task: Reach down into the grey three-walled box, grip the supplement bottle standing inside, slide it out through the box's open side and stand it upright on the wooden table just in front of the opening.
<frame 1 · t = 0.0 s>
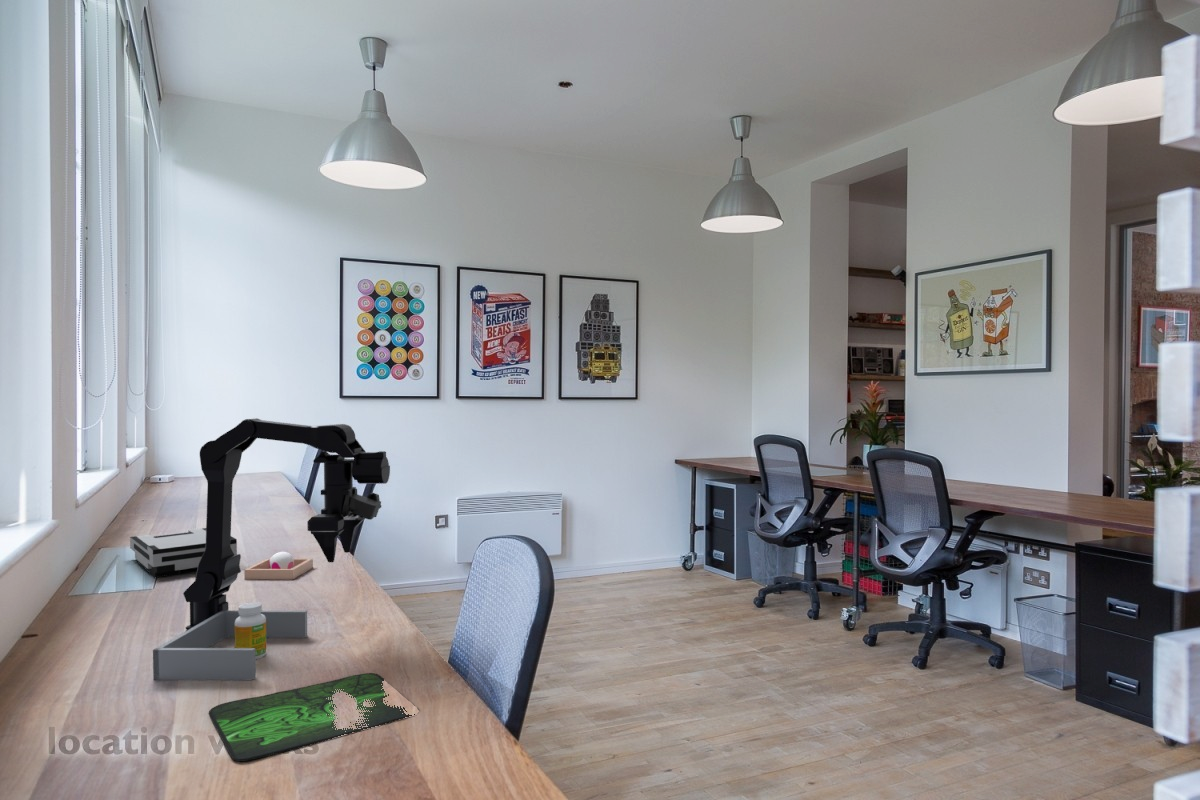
hand: (339, 557, 160), 15 cm above the table, fingers open, 9 cm apart
game console: (182, 564, 218), on the table
ball dish: (279, 573, 206), on the table
open side box: (250, 656, 142), on the table
mouse mat: (315, 715, 118), on the table
supplement bottle: (250, 657, 142), on the table
stress ball: (279, 574, 206), resting in ball dish
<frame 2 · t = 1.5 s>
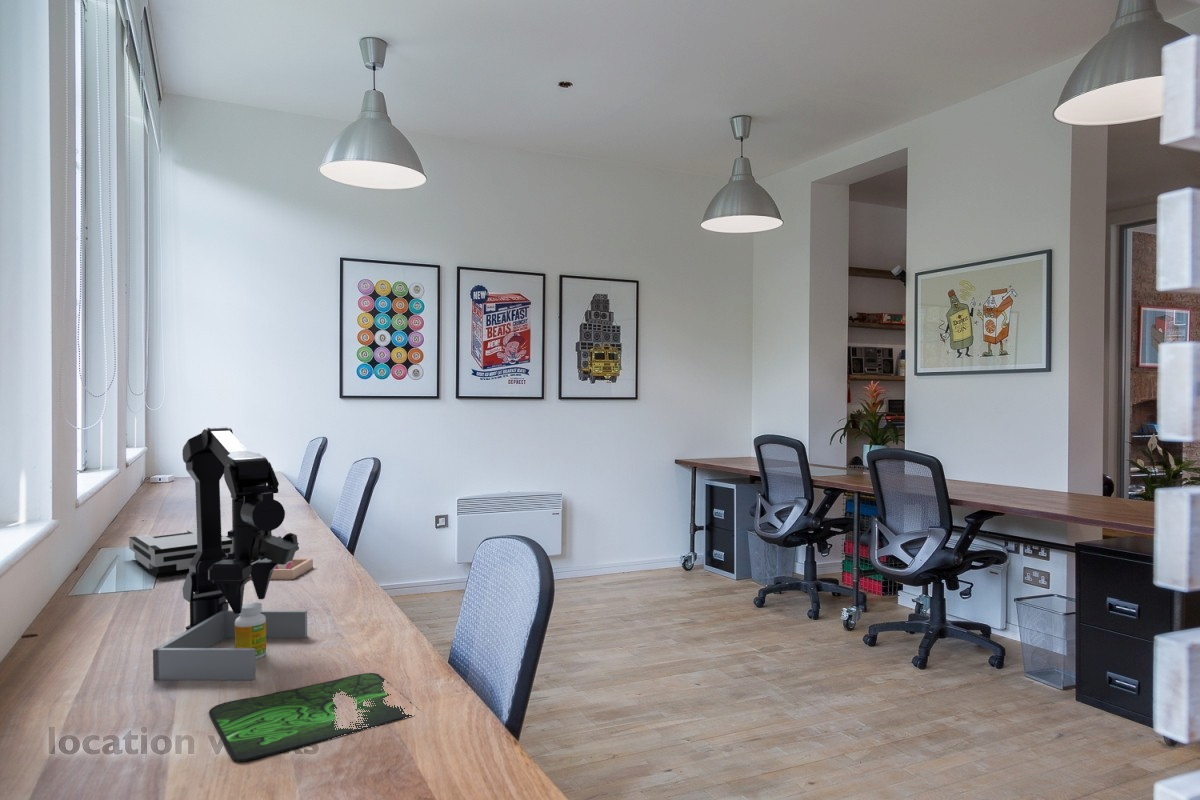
hand: (250, 606, 142), 9 cm above the table, fingers open, 9 cm apart
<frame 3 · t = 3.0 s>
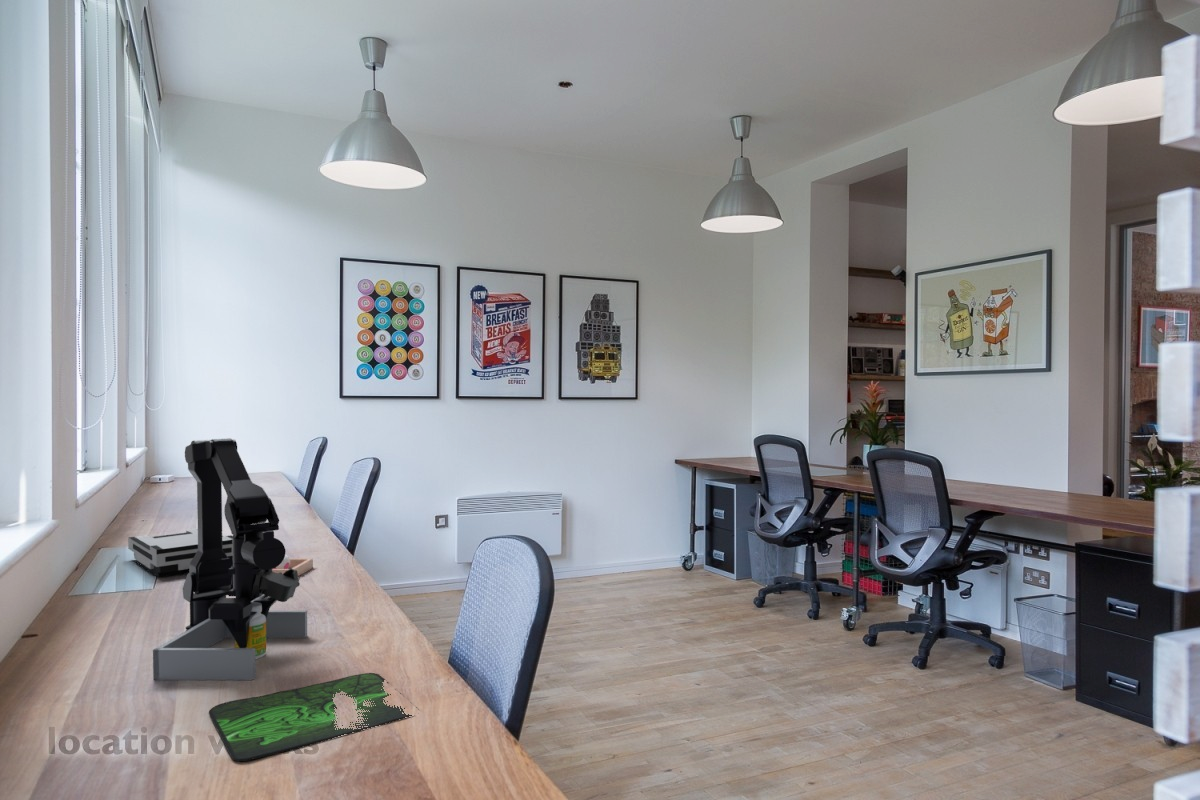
hand: (250, 642, 142), 3 cm above the table, fingers closed on supplement bottle, 5 cm apart
supplement bottle: (250, 657, 142), on the table, touching gripper
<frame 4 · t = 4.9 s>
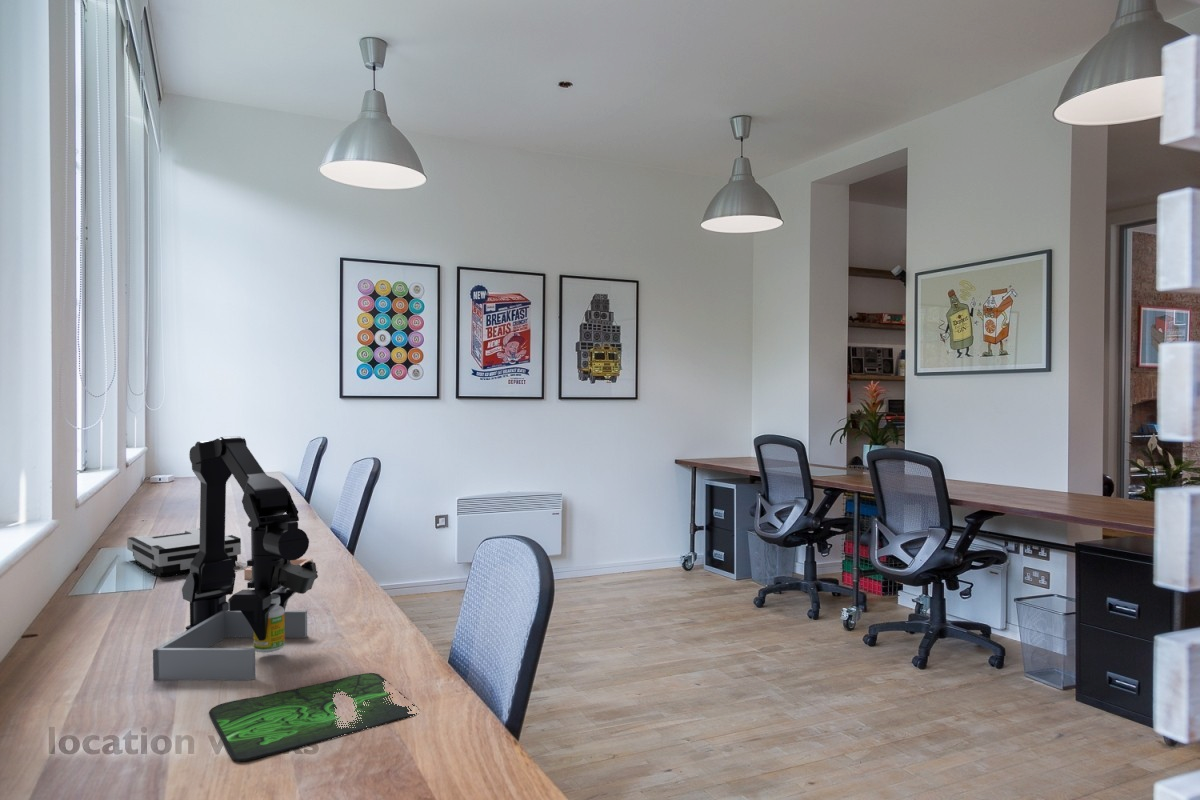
hand: (269, 634, 142), 4 cm above the table, fingers closed on supplement bottle, 5 cm apart
supplement bottle: (269, 649, 142), point 1 cm above the table, touching gripper
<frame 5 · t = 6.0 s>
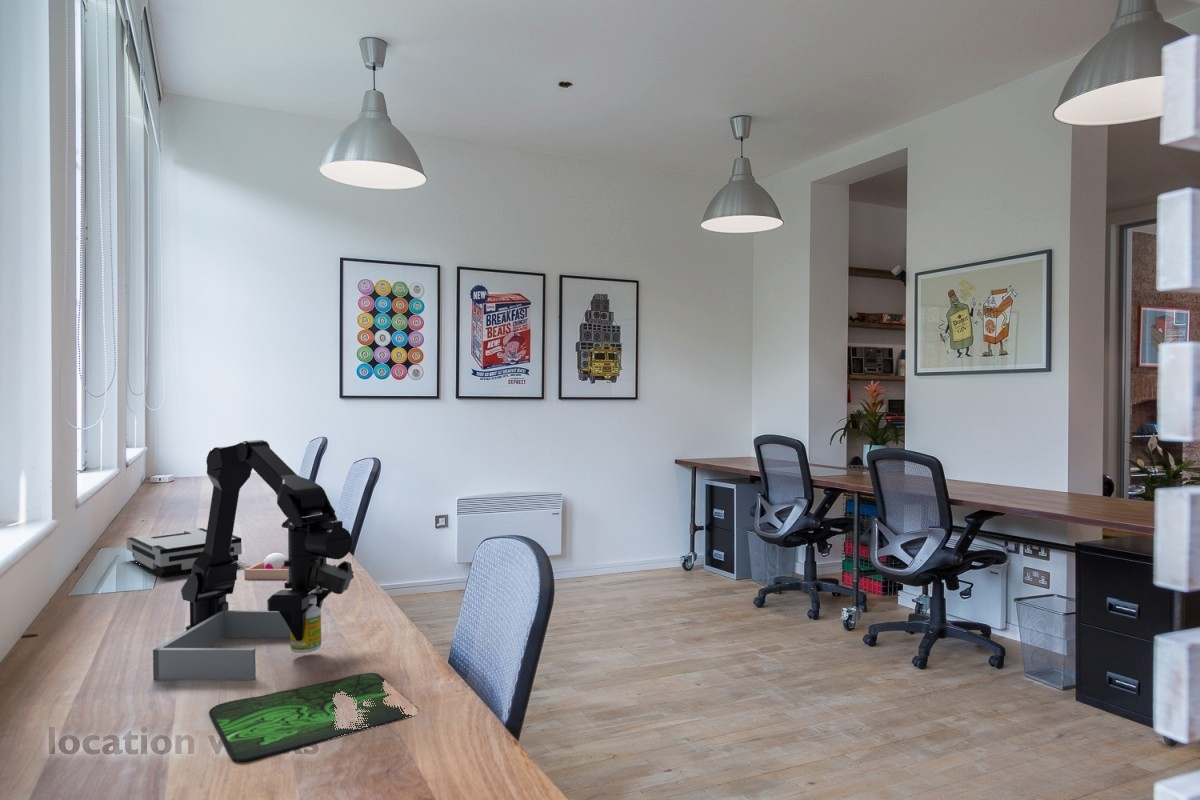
hand: (305, 635, 142), 4 cm above the table, fingers closed on supplement bottle, 5 cm apart
supplement bottle: (306, 649, 142), point 1 cm above the table, touching gripper
when the fingers open (4 cm above the table, at t = 7.0 s): supplement bottle drops 1 cm, on the table.
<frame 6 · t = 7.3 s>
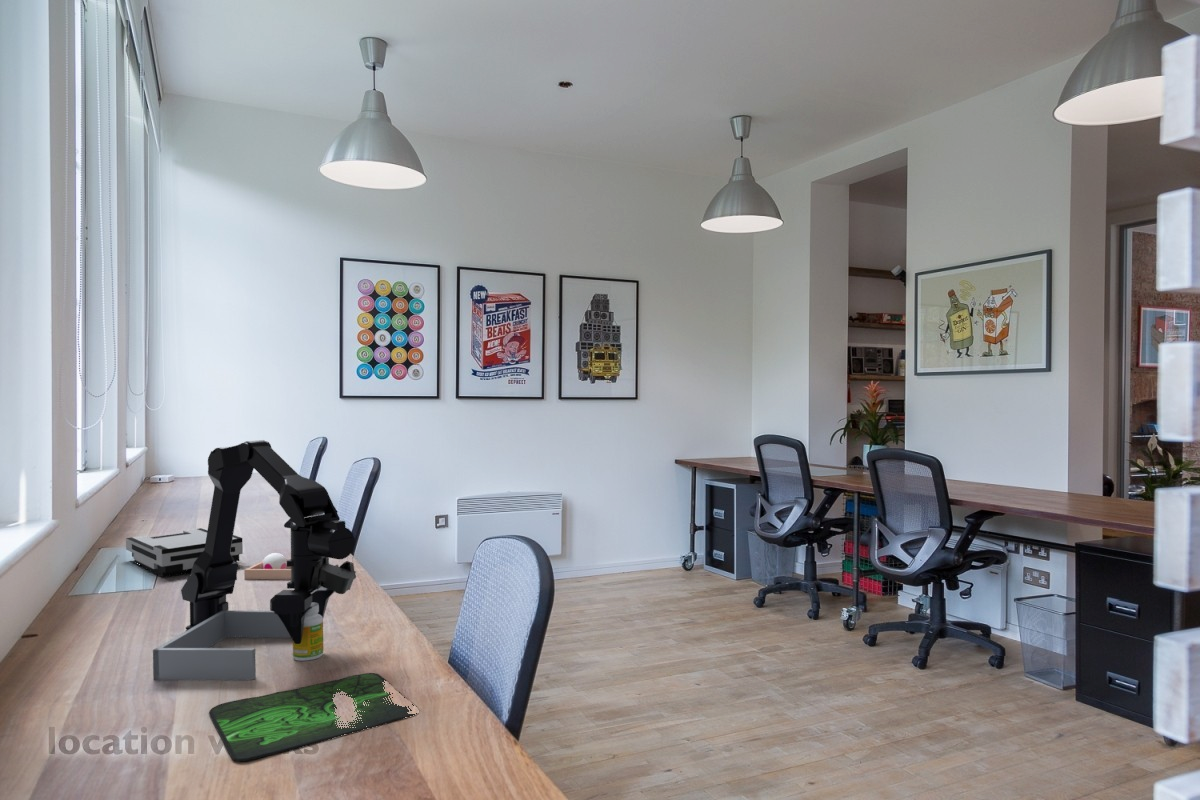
hand: (308, 635, 142), 4 cm above the table, fingers open, 9 cm apart
supplement bottle: (308, 657, 142), on the table
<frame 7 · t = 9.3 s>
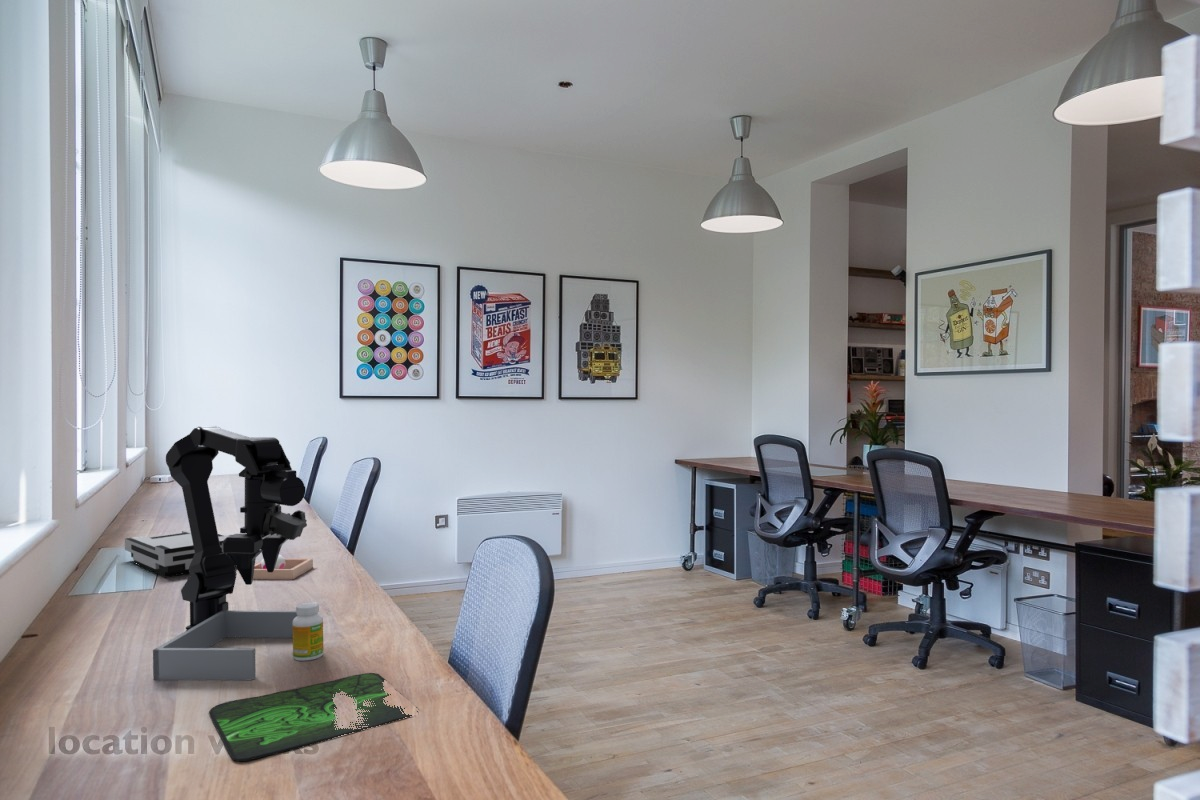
hand: (260, 578, 151), 13 cm above the table, fingers open, 9 cm apart
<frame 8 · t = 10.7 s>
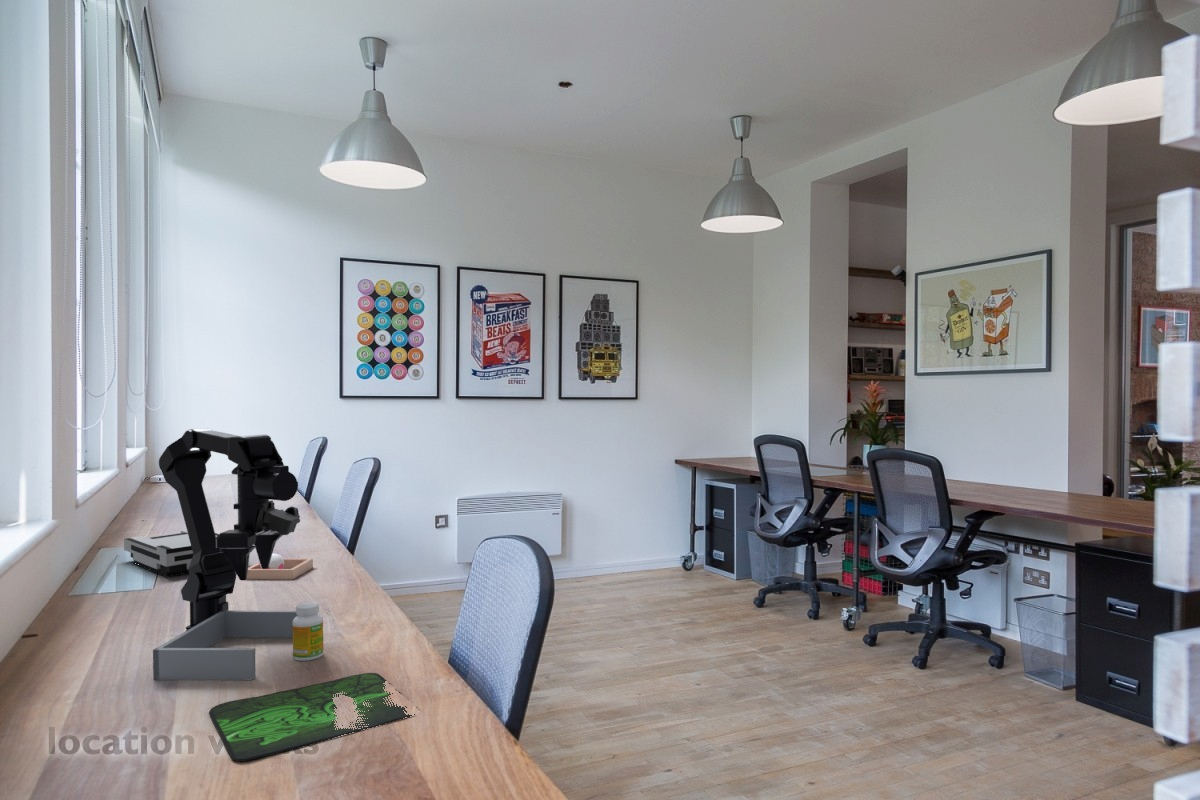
hand: (254, 574, 152), 13 cm above the table, fingers open, 9 cm apart
at the end: supplement bottle inside the target area on the table beside the open side box (3.3 cm from its centre), on the table; supplement bottle tilted 0°; the gripper is holding nothing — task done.
